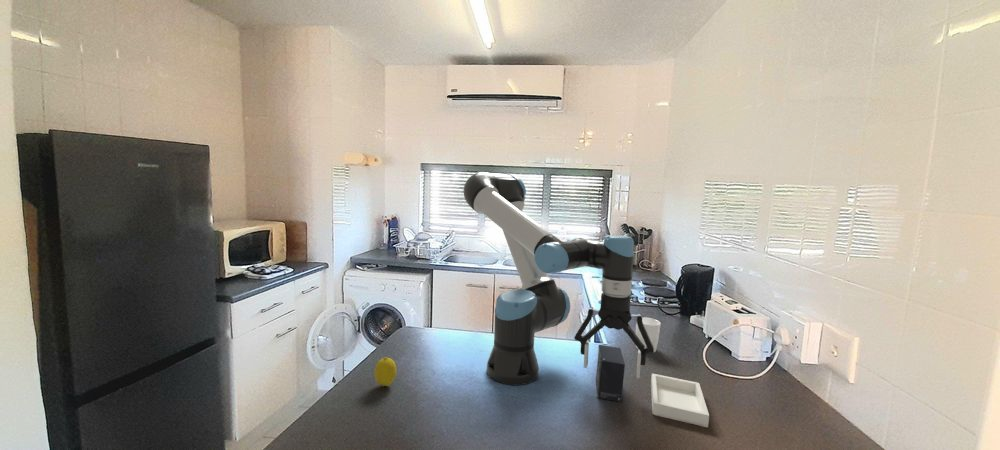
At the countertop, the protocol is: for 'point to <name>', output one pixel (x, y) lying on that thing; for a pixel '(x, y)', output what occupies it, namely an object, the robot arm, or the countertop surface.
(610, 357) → the small box
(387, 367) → the lemon
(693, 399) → the parts tray
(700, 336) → the countertop surface
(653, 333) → the white cup
